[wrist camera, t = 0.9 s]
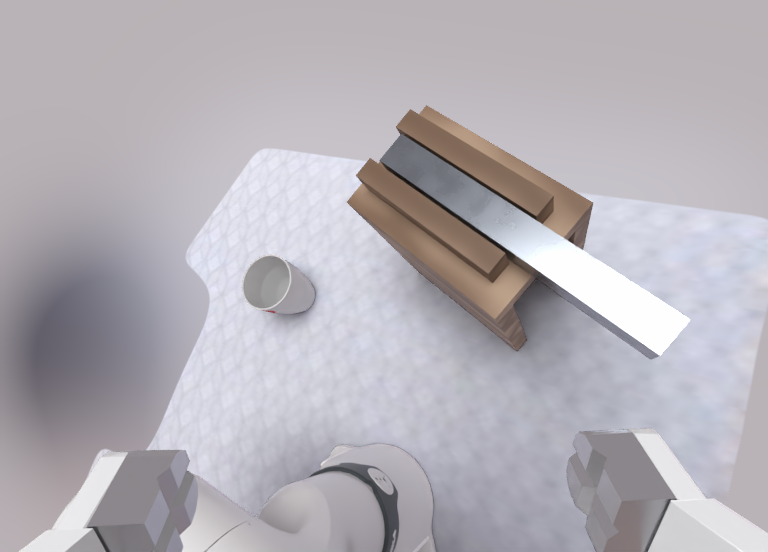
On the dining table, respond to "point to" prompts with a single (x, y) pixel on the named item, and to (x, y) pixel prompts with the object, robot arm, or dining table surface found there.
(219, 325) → the dining table surface
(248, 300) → the cup
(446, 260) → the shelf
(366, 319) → the dining table surface
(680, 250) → the dining table surface
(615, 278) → the bar
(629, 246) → the dining table surface
